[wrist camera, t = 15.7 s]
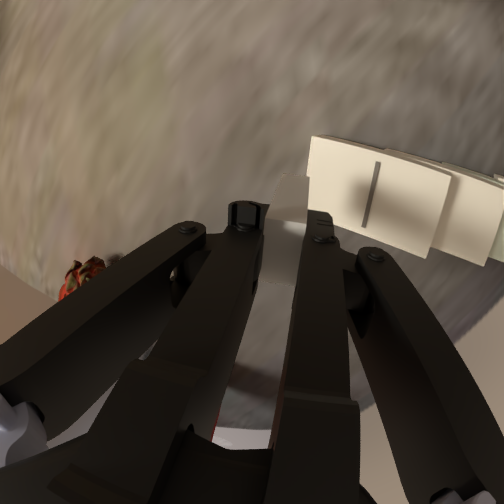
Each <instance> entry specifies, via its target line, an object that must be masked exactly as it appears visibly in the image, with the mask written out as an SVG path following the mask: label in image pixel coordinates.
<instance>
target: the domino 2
mask: <svg viewBox="0 0 504 504" xmlns="http://www.w3.org/2000/svg"><path fill="white" fill-rule="evenodd" d="M384 150H385V151H388V152H392V153H395V154H399V155H402V156H405V157H408V158H411V159H415V160H418V161H421V162H424V163H427V164H430V165H432V166H435V167H438V168H441V169H444V170H446V171H449V172H451V180H450V183H449V187H448V191H447V195H446V198H445V202H444V205H443V209H442V212H441V215H440V218H439V221H438V225H437V228H436V231H435V234H434V237H433V240H432V242H431V245H430V247H433V248H435V249H438V250H441V251H444V252H446V253H449V254H452V255H454V256H457V257H460V258H462V259H465V260H468V261H470V262H473V263H475V264H478V265H480V266H483V267H484V265H485V262H486V260H487V257H488V255H489V252H490V249H491V247H492V244H493V241H494V238H495V235H496V232H497V229H498V226H499V223H500V220H501V217H502V214H503V210H504V186H502V185H499V184H497V183H495V182H492V181H489V180H487V179H484V178H482V177H479V176H476V175H473V174H471V173H468V172H465V171H462V170H459V169H456V168H453V167H450V166H447V165H444V164H441V163H438V162H435V161H432V160H428V159H425V158H422V157H418V156H415V155H411V154H408V153H404V152H400V151H396V150H393V149H389V148H386V149H384Z"/></svg>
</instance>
